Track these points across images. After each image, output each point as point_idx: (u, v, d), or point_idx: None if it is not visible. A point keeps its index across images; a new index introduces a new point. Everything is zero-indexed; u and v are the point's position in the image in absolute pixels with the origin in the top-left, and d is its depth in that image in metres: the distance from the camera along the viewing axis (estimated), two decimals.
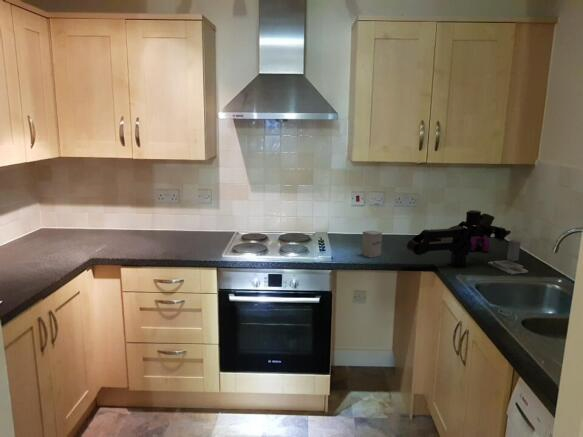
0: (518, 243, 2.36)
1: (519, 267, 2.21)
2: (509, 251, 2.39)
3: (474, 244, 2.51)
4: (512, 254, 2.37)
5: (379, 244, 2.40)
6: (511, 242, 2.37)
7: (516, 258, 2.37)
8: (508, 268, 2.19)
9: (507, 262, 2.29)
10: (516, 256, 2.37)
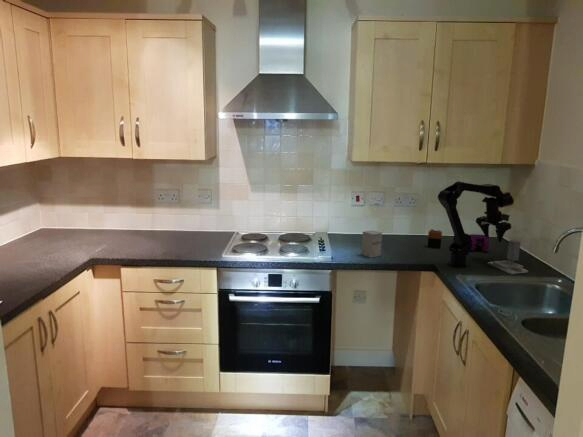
0: (518, 243, 2.36)
1: (519, 267, 2.21)
2: (509, 251, 2.39)
3: (474, 244, 2.51)
4: (512, 254, 2.37)
5: (379, 244, 2.40)
6: (511, 242, 2.37)
7: (516, 258, 2.37)
8: (508, 268, 2.19)
9: (507, 262, 2.29)
10: (516, 256, 2.37)
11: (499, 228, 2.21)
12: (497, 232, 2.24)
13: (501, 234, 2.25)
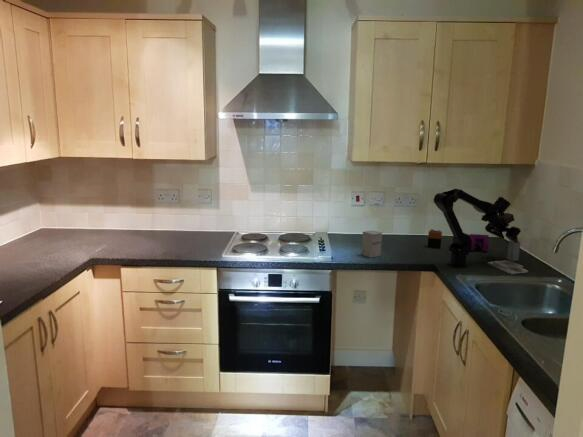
0: (518, 243, 2.36)
1: (519, 267, 2.21)
2: (509, 251, 2.39)
3: (473, 244, 2.51)
4: (512, 254, 2.37)
5: (379, 244, 2.40)
6: (511, 242, 2.37)
7: (516, 258, 2.37)
8: (508, 268, 2.19)
9: (507, 262, 2.29)
10: (516, 256, 2.37)
11: (510, 238, 2.25)
12: (510, 239, 2.28)
13: (515, 237, 2.29)
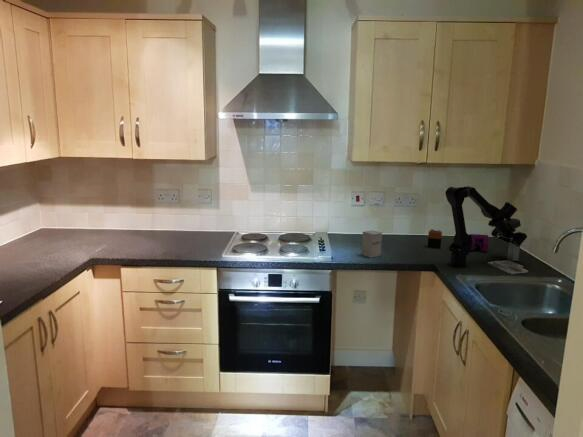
0: None
1: (519, 267, 2.21)
2: (509, 251, 2.39)
3: (473, 244, 2.51)
4: (512, 254, 2.37)
5: (379, 244, 2.40)
6: None
7: (516, 258, 2.37)
8: (508, 268, 2.19)
9: (507, 262, 2.29)
10: (516, 256, 2.37)
11: (517, 243, 2.27)
12: (513, 243, 2.32)
13: None
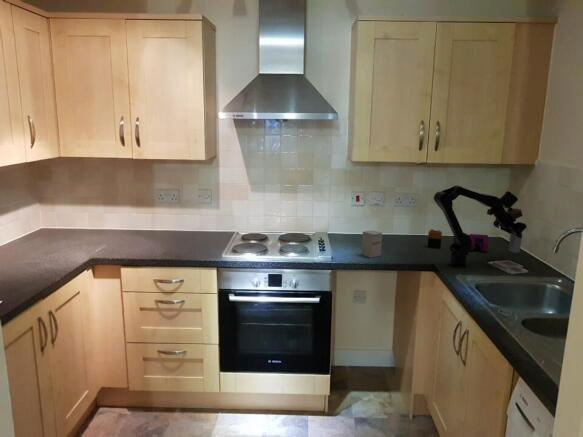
0: None
1: (519, 267, 2.21)
2: (510, 242, 2.32)
3: (473, 244, 2.51)
4: (513, 245, 2.30)
5: (379, 244, 2.40)
6: None
7: (517, 250, 2.31)
8: (508, 268, 2.19)
9: (507, 262, 2.29)
10: (517, 247, 2.30)
11: (515, 233, 2.21)
12: (513, 234, 2.26)
13: None
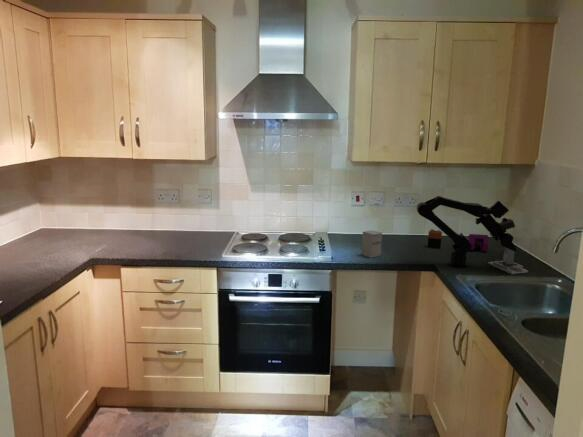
0: None
1: (519, 267, 2.21)
2: (504, 256, 2.25)
3: (473, 244, 2.52)
4: (505, 260, 2.23)
5: (379, 244, 2.40)
6: (505, 247, 2.23)
7: (510, 265, 2.23)
8: (508, 268, 2.19)
9: None
10: (510, 262, 2.22)
11: None
12: (503, 246, 2.17)
13: (510, 245, 2.17)
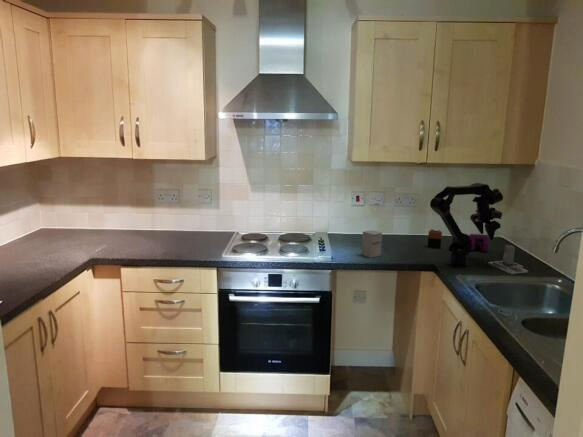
0: (512, 249, 2.21)
1: (519, 267, 2.21)
2: (504, 256, 2.25)
3: (473, 244, 2.51)
4: (505, 260, 2.23)
5: (379, 244, 2.40)
6: (505, 247, 2.23)
7: (510, 265, 2.23)
8: (508, 268, 2.19)
9: None
10: (510, 262, 2.22)
11: (487, 228, 2.22)
12: (486, 231, 2.25)
13: (491, 233, 2.26)
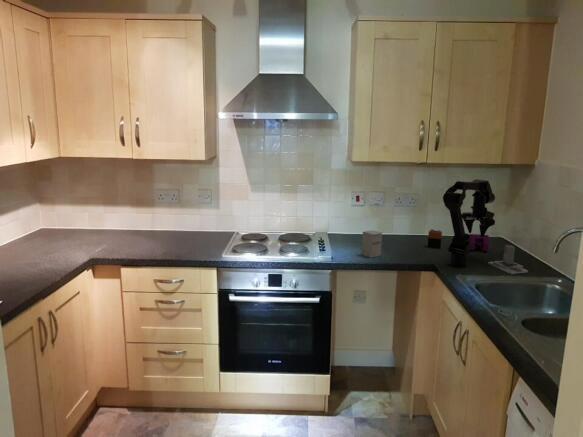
0: (512, 249, 2.21)
1: (519, 267, 2.21)
2: (504, 256, 2.25)
3: (473, 244, 2.51)
4: (505, 260, 2.23)
5: (379, 244, 2.40)
6: (505, 247, 2.23)
7: (510, 265, 2.23)
8: (508, 268, 2.19)
9: None
10: (510, 262, 2.22)
11: (483, 222, 2.25)
12: (480, 226, 2.28)
13: (484, 229, 2.29)
